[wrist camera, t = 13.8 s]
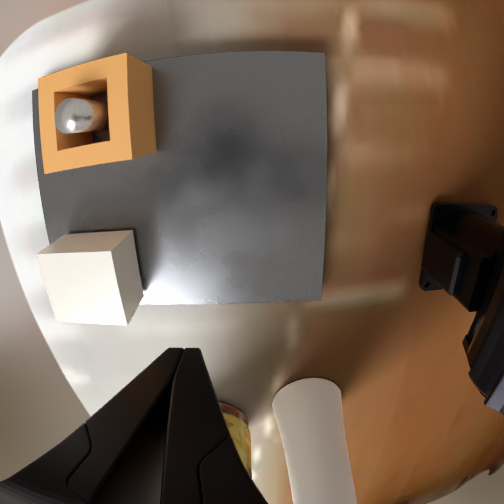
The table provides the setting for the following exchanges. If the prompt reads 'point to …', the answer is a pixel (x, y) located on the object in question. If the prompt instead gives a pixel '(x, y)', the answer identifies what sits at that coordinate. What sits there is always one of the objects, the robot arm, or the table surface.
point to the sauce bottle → (239, 433)
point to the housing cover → (92, 277)
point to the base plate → (210, 179)
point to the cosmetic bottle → (314, 442)
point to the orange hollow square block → (119, 110)
